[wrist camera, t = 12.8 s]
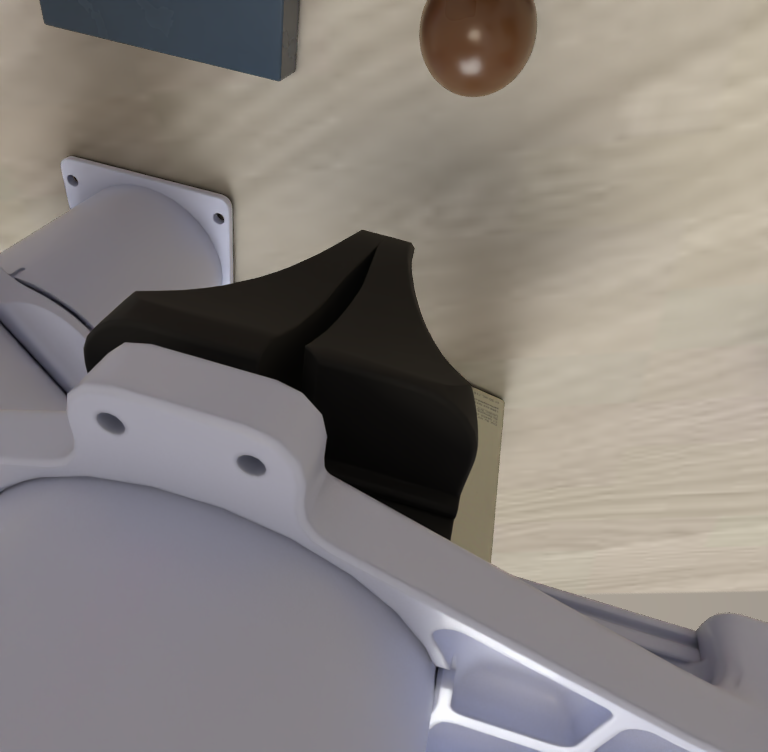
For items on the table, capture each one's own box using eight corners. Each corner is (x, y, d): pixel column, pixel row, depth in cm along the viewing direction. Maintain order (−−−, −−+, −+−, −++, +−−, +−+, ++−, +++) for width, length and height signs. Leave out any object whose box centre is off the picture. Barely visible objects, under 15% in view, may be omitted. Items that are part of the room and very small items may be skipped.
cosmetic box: (430, 365, 28) (376, 582, 19) (508, 398, 29) (492, 627, 19) (388, 443, 33) (328, 651, 23) (457, 471, 33) (424, 687, 24)
